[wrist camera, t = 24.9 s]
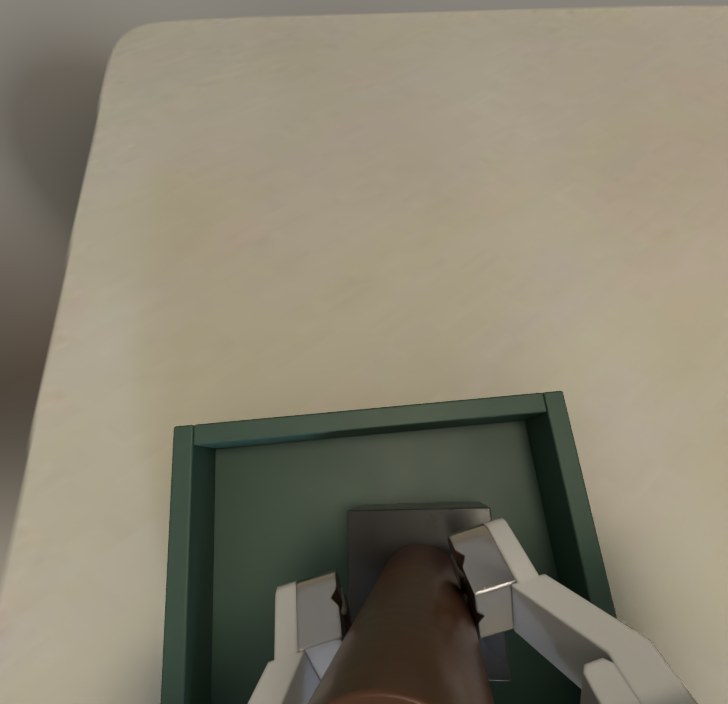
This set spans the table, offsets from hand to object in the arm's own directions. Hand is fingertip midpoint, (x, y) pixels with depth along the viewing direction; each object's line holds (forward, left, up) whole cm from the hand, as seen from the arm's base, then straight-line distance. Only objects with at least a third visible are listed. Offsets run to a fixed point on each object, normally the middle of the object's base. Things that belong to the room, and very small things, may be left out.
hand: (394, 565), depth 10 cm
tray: (0, +1, -8) cm, 8 cm away
